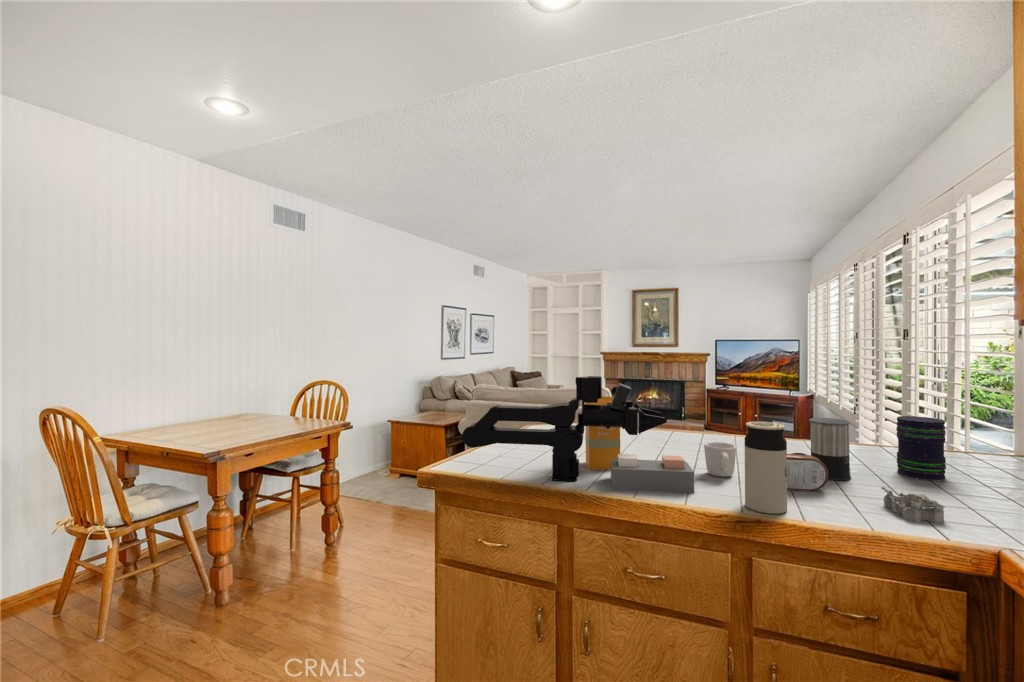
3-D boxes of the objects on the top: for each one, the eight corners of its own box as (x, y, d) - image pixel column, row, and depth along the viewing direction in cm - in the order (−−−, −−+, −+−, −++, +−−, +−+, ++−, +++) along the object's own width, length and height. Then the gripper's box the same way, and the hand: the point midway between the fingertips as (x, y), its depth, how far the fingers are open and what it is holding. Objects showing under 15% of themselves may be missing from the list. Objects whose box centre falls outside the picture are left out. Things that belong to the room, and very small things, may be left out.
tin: (825, 489, 113) (824, 454, 113) (830, 493, 110) (830, 457, 110) (756, 485, 117) (756, 451, 117) (760, 489, 114) (760, 454, 114)
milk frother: (852, 483, 118) (852, 424, 118) (780, 474, 126) (780, 419, 126) (848, 470, 130) (847, 416, 130) (782, 462, 138) (782, 412, 138)
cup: (743, 483, 119) (743, 451, 119) (709, 481, 120) (709, 450, 120) (732, 471, 129) (732, 442, 129) (701, 470, 131) (701, 441, 131)
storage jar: (904, 478, 122) (904, 420, 122) (890, 468, 131) (890, 415, 131) (953, 482, 118) (953, 423, 118) (936, 472, 127) (935, 417, 127)
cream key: (618, 474, 117) (618, 458, 117) (617, 469, 121) (617, 453, 121) (637, 475, 116) (637, 458, 116) (636, 470, 120) (636, 454, 120)
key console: (612, 489, 114) (611, 468, 114) (610, 477, 124) (610, 458, 124) (694, 493, 111) (694, 472, 111) (686, 480, 121) (686, 461, 121)
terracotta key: (664, 476, 115) (664, 459, 115) (662, 471, 119) (662, 455, 119) (684, 477, 114) (684, 460, 114) (681, 471, 118) (681, 455, 118)
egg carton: (879, 504, 104) (878, 485, 104) (919, 507, 102) (919, 488, 102) (904, 521, 93) (904, 501, 94) (950, 525, 91) (950, 504, 91)
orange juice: (620, 469, 132) (620, 398, 132) (589, 469, 132) (588, 398, 132) (615, 462, 140) (614, 395, 140) (585, 462, 140) (584, 395, 140)
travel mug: (740, 509, 100) (740, 424, 100) (750, 499, 106) (749, 420, 106) (783, 518, 95) (782, 429, 95) (790, 507, 101) (789, 423, 101)
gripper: (602, 388, 113) (669, 389, 111) (601, 381, 132) (659, 382, 129) (602, 434, 113) (669, 436, 111) (601, 421, 132) (659, 423, 129)
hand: (664, 417), depth 120 cm, fingers open, 9 cm apart
